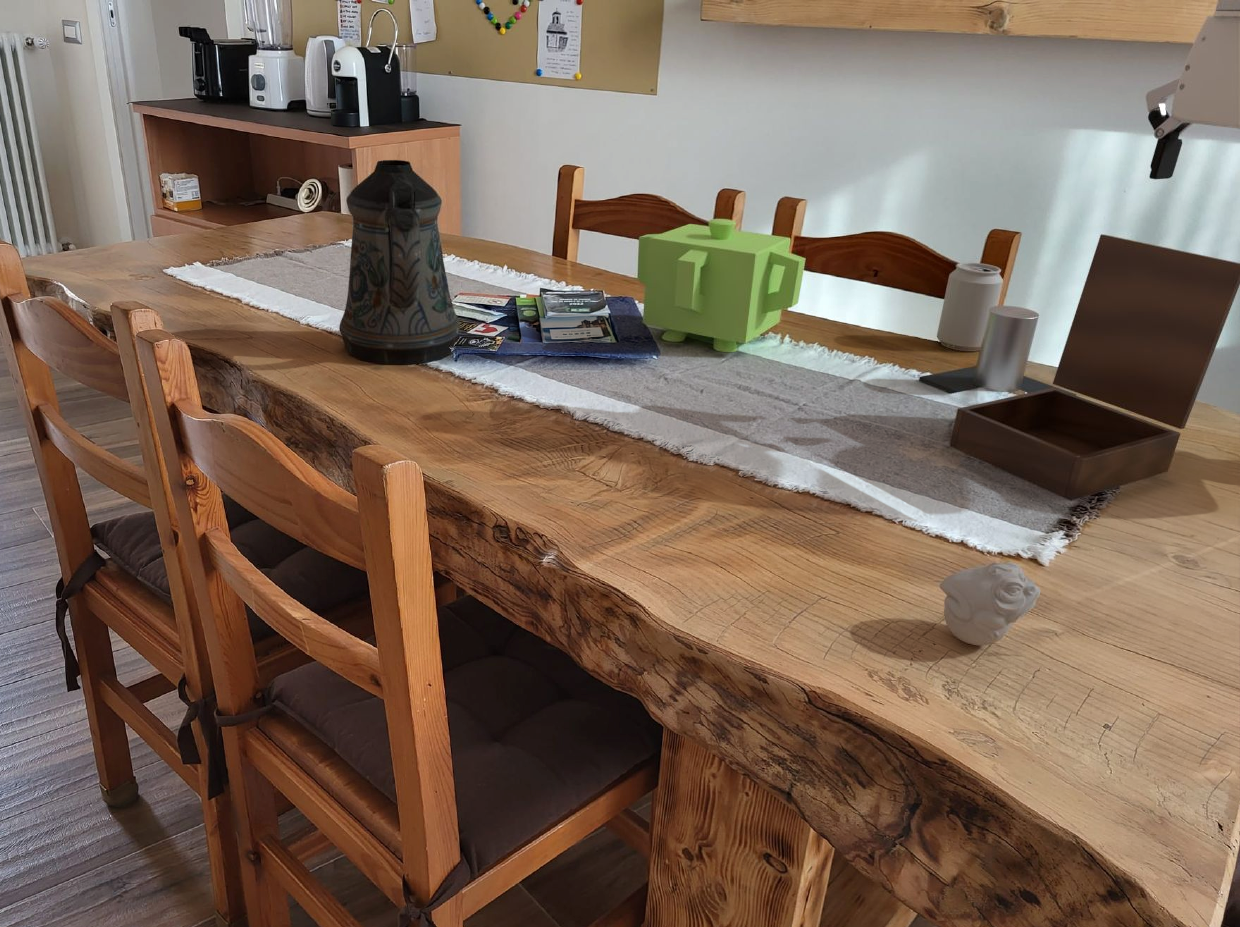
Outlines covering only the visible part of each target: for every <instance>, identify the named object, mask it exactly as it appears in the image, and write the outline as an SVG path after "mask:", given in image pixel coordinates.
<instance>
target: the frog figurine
mask: <svg viewBox="0 0 1240 927" xmlns="http://www.w3.org/2000/svg"><path fill="white" fill-rule="evenodd" d="M939 588H940V590H941V591H942V592H943V593H944V594H945V595H946V596H945V597H944V601H943V602H944V603H943V605H944V606H943V607H944V608H943V614H944V615H943V616H944V620H945V624H946V626H947V628H948V630H950V632H951V634H953V635H954V636H955V638H957V639H958V640H960V641H962V642H964V643H966V644H969V645H973V646H987V645H988V646H989V645H992V644H994V643H997V642H998V641H1000V640H1002V639H1003V638H1004V637H1005V636H1006V635H1007V634H1008V633H1009V631H1010V630H1011V628H1012V625H1013V624H1015V623H1017V622H1018V621H1019V620H1020V619H1021V618H1023V617H1024V616H1025V615H1027V614H1028V612H1030V611H1031V610H1033V609H1034V607H1035V606H1036V602H1037V599H1038V598H1039V596H1040V595H1041V588H1040V586H1038V585H1037V584H1036V583H1035V581H1034V580H1033V579H1032V578H1030V577H1026V576H1025V573H1024V571H1023V568H1022V567H1021V566H1020V565H1019V564H1018V563H1016V562H1014V561H1013V562H1012V561H1004V562H998V561H993V562H990V563H989V564H988V565H979V566H975V567H969V568H965V569H962V570H960V571H959V570H958V571H957V572H954V573H952V574H950V575H949V576H947V577H945V578H944V579H943V580H942V581H941V583H940V584H939Z"/></svg>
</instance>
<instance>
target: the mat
mask: <svg viewBox="0 0 1240 927" xmlns="http://www.w3.org/2000/svg"><path fill="white" fill-rule="evenodd" d="M975 369H976V365H973V366H968V367H962V368H957V369H953V370H948V371H942V372H937V373H932V374H926V375H921V376H919V378H918V381H919V382H921V383H924V384H926V385H928V386H931V387H934V388H936V389H939V390H941V391H944V392H947V393H948V394H957V393H962V392H967V391H972V390H976V389H981V388H980V387H977V386H976V385H974V383H973V378H974V373H975ZM1050 388H1056V389H1059V390H1062V391H1064V392H1067V393H1070V394H1073V395H1076V396H1077V394H1076V393H1075V392H1074V393H1073V392H1072V391H1071V392H1070V391H1069V390H1066V389H1063V388H1061V387H1060V388H1059V387H1058V386H1057V387H1056V386H1055V385H1051V384H1048V383H1045V382H1043V381H1040V380H1036V379H1034V378H1031V377H1029V376H1026V375H1024V377H1023V381H1022V385H1021V389H1020V390H1019V391H1022V392H1025V393H1026V394H1027V393H1031V392H1036V391H1041V390H1045V389H1050Z"/></svg>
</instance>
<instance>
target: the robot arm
mask: <svg viewBox="0 0 1240 927" xmlns="http://www.w3.org/2000/svg"><path fill="white" fill-rule="evenodd" d="M1170 98H1173V100H1172V104H1171V110H1170V113H1171V115H1170V114H1169V112H1168V111H1167V109H1166V107H1167V106H1166V102H1167V100H1168V99H1170ZM1145 102H1146V107H1147V112H1148V116H1147V119H1148V122H1149V124H1150V125H1151V127H1152V129H1153V131H1154V132H1153V137H1154V138H1155V139H1157V142H1156V145H1155V148H1154V152H1153V155H1152V159H1151V162H1150V167H1149V168H1150V171H1149V172H1150V173H1149V179H1150V180H1166V179H1167V180H1168V179H1170V178H1173V175H1174V173H1175V170H1176V167H1177V166H1176V165H1177V163H1178V159H1179V155H1180V153H1181V149H1182V145H1183V139H1182V138H1180V136H1181V135H1182V134H1183V133H1184V132H1185V131H1186V130H1188V129H1189V128H1190V127H1191V126H1192V125H1195V124H1196V125H1204V126H1211V127H1221V128H1231V129H1240V0H1217V3H1216V6H1215V10H1214V12H1213V16H1212V15H1211V16H1210V15H1209V16H1206V18H1205V20H1204V22H1203V24H1202V26H1201V28H1200V30H1199V31H1198V34H1197V35H1196V38H1195V40H1194V42H1193V44H1192V46H1191V48H1190V51H1189V53H1188V56H1187V58H1186V61H1185V64H1184V66H1183V68H1182V72H1181V74H1180V77H1179V78H1178V79H1175V80H1172V81H1170V82H1168V83H1166V84H1163V85H1161V86H1159V87H1156V88H1154V89H1152V90H1149V91H1148V92H1146V95H1145Z"/></svg>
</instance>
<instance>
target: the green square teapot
mask: <svg viewBox="0 0 1240 927" xmlns="http://www.w3.org/2000/svg"><path fill="white" fill-rule="evenodd" d="M736 224H737V222H736V221H735V220H732V219H727V218H712V219H710V220H708V225H702V224H693V223H688V224H686V225H683V226H679V227H677V228H674V229H671V230H667V231H665V232H662V233H650V234H644V235H642V236H639V237H638V252H637V253H638V254H637V277H636V278H637V281H638V282H639V283H641V284H643V285H644V298H643V312H642V324H643V325H646V326H651V327H652V326H653V327H658V328H663V329H666V331H665V332H664V334H663V335H662V336H661V339H662V340H664V341H667V342H677V343H678V342H684V341H685V340H686V337H687V335H688V334H692V335H699V336H704V337H708V338H713V349H714V350H715V351H717V352H722V353H735V352H737V351H738V346H737V343H739V344H747V343H749V342H751V341H752V340H753V339H757V338H759V336H760V335H761V334H764V333H765V332H766V331H768V330H769V329H771V328H773V327H774V326H776V325H777V324H779V323H780V322H781V316H782V310H785V309H791V308H793V307H794V306H796V305H797V304H799V300H800V295H801V294H800V293H801V287H802V283H803V276H804V270H805V264H806V260H807V259H806V257H802V256H800V255H797V254H795V253H791V252H790V247H791V241H792V240H791V237H786V236H780V235H772V234H765V233H758V232H751V231H746V230H737V229H735V228H736Z"/></svg>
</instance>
